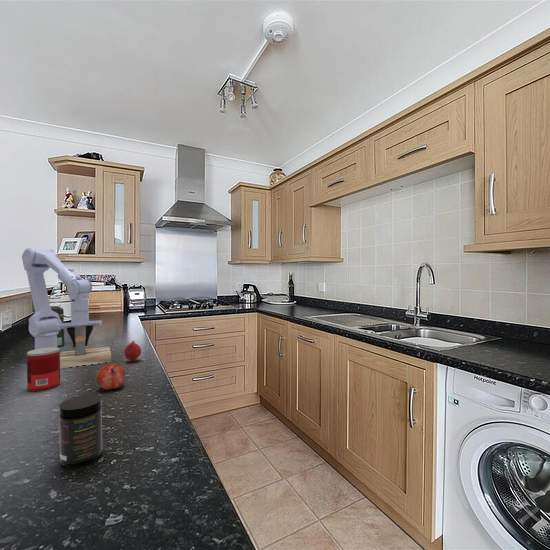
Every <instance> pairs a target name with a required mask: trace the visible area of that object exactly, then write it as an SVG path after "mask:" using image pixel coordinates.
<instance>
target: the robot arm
mask: <svg viewBox="0 0 550 550" xmlns="http://www.w3.org/2000/svg"><path fill="white" fill-rule="evenodd" d="M21 260H22V266H23V269H24V271H26V275H27V280H28V284H29V290H30V294H31V299H32V300H31V301H32V303H33V308H34V313H33V315H31V316H30V317H29V318H28V332H29V333H30V335H31V336H32V337H33V338H34V350H35V349H40V348H48V347H57V334H59V331H60V330H61V329H64V330H65V329H66V331H67V333H68V336H69V337H70V340H71V342H72V345H73V348H76V342H75V338H76V328H77V329H78V328H85V347H87V346H88V343H89V339H90V336H91V334H92V332H93V329H94V327H102V326H103V320H90V317H89V315H90V311H89V305H90V304H89V294H90V293H91V292H92V290H93V285H92V282H91V281H90V279H89V278H85V279H84V277H83V278H82V276H80V275H79V274H78V273H77V272H76V271H75V270H74V268H72V267H67V266H65V264H63V262H62V261H61V260H60V259H59V258H58V253H57V252H56V251H55V250H53V249H51V248H49V249H47V248H46V249H45V248H32V247H27V248H25V249H24V251H23V252H22V255H21ZM49 269H51V270H52V271H54V272H55V273H57V278H58V279H59V280H60V281H61V283H62V284H64V286H65V287H66V291H67V293H68V296H69V297H68V298H69V300H70V312H71V313H70V322H64V323H62V322H61V320H60V318H59V316H58V313H56V312H54V311H52V310H51V307H50V306H51V303H50V299H49V294H48V289H47V285H46V284H47V283H46V280H45V275H44V273H45V272H46V271H49ZM46 318H48V319H46ZM57 348H58V347H57Z"/></svg>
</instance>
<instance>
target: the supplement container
mask: <svg viewBox="0 0 550 550" xmlns="http://www.w3.org/2000/svg"><path fill="white" fill-rule="evenodd" d="M58 420H59V421H58V422H59V423H58V424H59V425H58V426H59V462H60V464H61V465H62V466H63V467H65V466H66V468H77V467H76V466H79V467H82V466H81V465H83V466H85V464H86V465H88V464H90V463H92V462H94V461H95V460H97V459H98V458H99V457H100V455H101V454H102V452H103V397H102V396H101V395H99V394H82V395H77V396H73V397H71V398H68V399H66V400H64V401H62V402H61V403H59V405H58ZM97 457H98V458H97ZM93 460H94V461H93ZM89 462H90V463H89ZM87 463H88V464H87Z"/></svg>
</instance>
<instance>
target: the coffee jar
mask: <svg viewBox="0 0 550 550" xmlns="http://www.w3.org/2000/svg"><path fill="white" fill-rule="evenodd" d="M50 307H51V310H52V311H54V312H56V313H58V316H59V318H60V320H61V322H62V323H65V319H64V318H65V315H64V313H65V312H64V308H62V307H61V306H57V305H52V306H51V305H50ZM46 319H48V318H46ZM64 345H65V329H61V330H60V331H59V334H57V348H59V347H63V346H64Z"/></svg>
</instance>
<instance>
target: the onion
mask: <svg viewBox="0 0 550 550" xmlns="http://www.w3.org/2000/svg"><path fill="white" fill-rule="evenodd" d="M123 353H124V357H125V358H126V359H127V360H128V361H130V362H133V361H134V362H135V361H136V360H137V359H138V358H140V356H141V354H142V347H140V345H139V344H137V343H136V341H135V340H131V342H130V343H129V344H128V345H127V346H126V347H125V349H124V352H123Z"/></svg>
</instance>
